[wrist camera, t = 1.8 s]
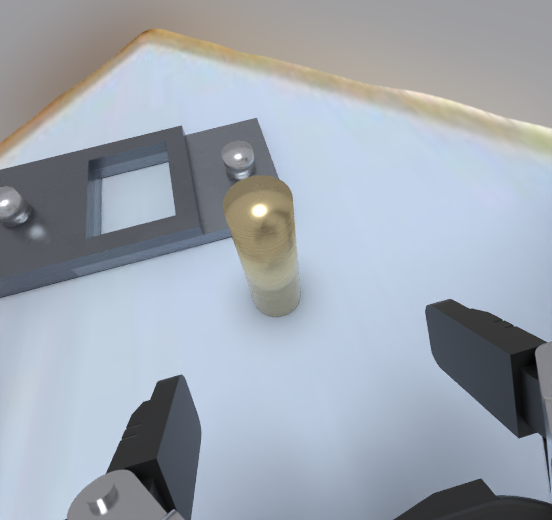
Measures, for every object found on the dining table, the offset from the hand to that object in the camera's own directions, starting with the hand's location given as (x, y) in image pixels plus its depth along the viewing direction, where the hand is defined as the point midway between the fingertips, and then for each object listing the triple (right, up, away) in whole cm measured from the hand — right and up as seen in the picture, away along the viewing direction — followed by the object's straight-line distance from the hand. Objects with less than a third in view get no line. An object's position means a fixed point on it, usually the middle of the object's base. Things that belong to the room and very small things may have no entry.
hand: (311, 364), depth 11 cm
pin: (-1, +1, +16) cm, 16 cm away
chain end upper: (-18, +8, +22) cm, 29 cm away
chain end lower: (-10, +10, +23) cm, 27 cm away
